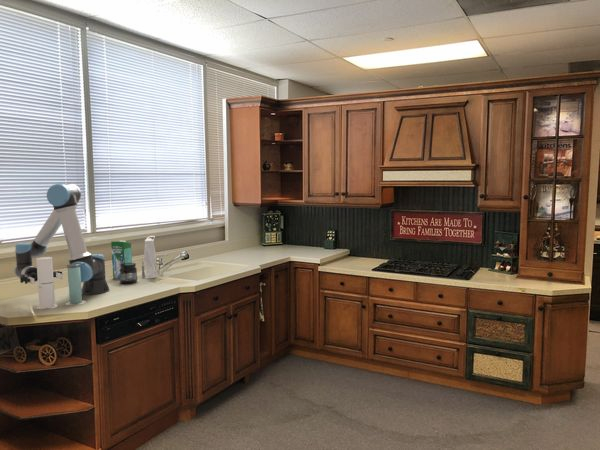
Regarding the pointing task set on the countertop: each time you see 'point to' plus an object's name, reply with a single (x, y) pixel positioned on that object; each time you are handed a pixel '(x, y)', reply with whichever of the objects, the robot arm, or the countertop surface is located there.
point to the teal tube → (74, 283)
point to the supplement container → (128, 273)
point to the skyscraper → (149, 259)
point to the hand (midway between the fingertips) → (48, 278)
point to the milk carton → (120, 256)
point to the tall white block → (45, 282)
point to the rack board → (66, 304)
